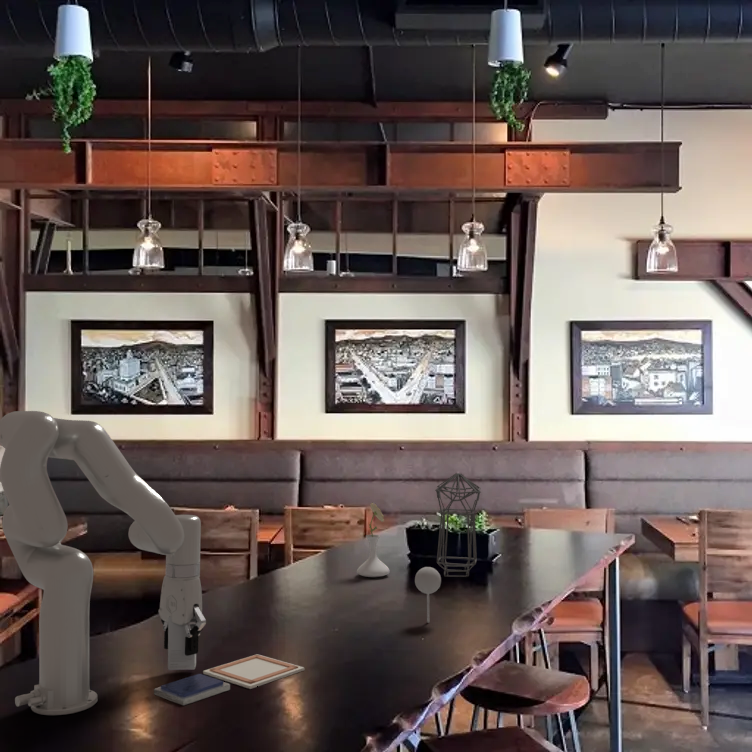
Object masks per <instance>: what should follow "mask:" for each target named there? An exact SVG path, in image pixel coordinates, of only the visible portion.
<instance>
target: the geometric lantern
mask: <svg viewBox="0 0 752 752" xmlns="http://www.w3.org/2000/svg"><path fill="white" fill-rule="evenodd" d="M453 480H454V481H453ZM452 481H453V483H452V486H451V487H450V486H447V485H448V484H449V483H450V482H452ZM463 481H464V482H465V483H466V484H467V486H469V487H466V486H465V485H464V482H463ZM460 482H461V485H462V488H461V485H460ZM455 485H456V487H455ZM449 489H450V490H449ZM453 490H455V491H453ZM466 490H470V491H466ZM461 491H462V492H461ZM435 492H436V498H437V501H438V507H439V511H440V521H439V533H438V542H437V543H438V545H437V554H436V563H437V564H438V566H439V567H441V569H443V576H444V577H445V578H446V577H447V578H449V577H450V578H451V577H453V578H458V577H459V578H468V577H469V576H470V570H471V569H472V568H474V566H475V565H476V564H477V559H478V557H477V554H478V553H477V537H476V514H475V513H476V512H475V511H476V508H477V505H478V502H479V499H480V493H482V492H481V487H480V486H478V485H477V484H476V483H474V482H473V481H471V480H470V479H469V478H467V477H466V476H464V474H462V473H457V472H456V473H454V474H453V475H451V476H450V477H448V478H447V479H445V480H444V481H443V482H442V483H440V484H438V485H437V487H436V489H435ZM445 492H447V493H449V495H450V496H449V495H448V494H446V493H445ZM441 493H442V494H443V495H444V496H445V497H446V498H447V499H449V500H450V501H449V503H448V505H447V506H446V507H445V506H444V503H443V501H442V500H443V499H442V496H441V495H442V494H441ZM462 494H463V495H462ZM474 494H476V495H477V496H476V499H474V503H473V506H472V508H471V506H470V505H469V502H467V498H469V497H471V496H472V495H474ZM456 498H457V499H456ZM463 500H464V501H465V502H466V504H467V506H468V508H469V509H467V507H466V506H465V504H464V502H463ZM454 502H460V503H461V506H463V509H462V508H460V509H459V508H458V509H457V508H450V507H451V506H452V504H453V503H454ZM442 507H443V508H442ZM450 511H464V512H465V513H462V512H461V513H459V512H450ZM468 511H469V512H468ZM450 515H466V516H467V518H466V519H467V523H466V524H467V556H468V557H466V556H465V557H463V556H461V557H459V556H447V547H448V533H449V517H450ZM445 521H446V522H445ZM445 524H446V525H445ZM445 527H446V528H445ZM445 529H446V530H445ZM472 550H473V557H472ZM447 559H457V560H459V559H460V560H467V562H466V563H454V562H447ZM471 560H472V562H470V561H471ZM442 565H443V566H444V567H443V566H442ZM448 567H453V568H455V567H456V568H458V567H459V568H461V567H462V568H464V569H463V570H462V569H448ZM449 573H465V575H449Z"/></svg>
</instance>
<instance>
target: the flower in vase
mask: <svg viewBox="0 0 752 752" xmlns="http://www.w3.org/2000/svg"><path fill="white" fill-rule="evenodd" d="M369 506H370V509H371V511H372V513H373V515H372V518H371V521H370V523H368V525H369V528H370V532H371V533H370V534H366V535H365V537H366V539H367V541H368V545H369V556H368V558H367V559H366V560H365V561H364V562H363V563H362V564H361V565H360V566H359V567H358V568H356V569H357V570H356V573H357V574H358V575H360V576H362V577H366V578H367V577H368V578H379V577H384V576H386V575H388V574H389V573H390V568H389V567H388V566H387V565H386V564H385V563H384V562H383V561H381V560H380V559H379V557H378V555H377V545H378V541H379V539H380V537H381V535H380V534H373V532H374V531H375V530H377V529H378V527H377V526H376V525H375V526H374V527H373V529H372V523H373V521H374V520H373V519H374V517H376V518H377V520H379V521H380V522H381V523H383V522H385V519H384V518H385V515H383V512H382V510H381V508H379V507H378V505H377V504H376V503H374V502H371V503H370V504H369Z"/></svg>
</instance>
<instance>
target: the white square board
mask: <svg viewBox="0 0 752 752" xmlns="http://www.w3.org/2000/svg"><path fill="white" fill-rule="evenodd" d="M303 671H306V669H305V667H304V666H301V665H298V664H294V663H289V662H287V661H283V660H280V659H276V658H273V657H270V656H265V655H261V654H257V653H256V654H254V655H250V656H247V657H244V658H240V659H237V660H234V661H231V662H228V663H224V664H221V665H217V666H214V667H211V668H208V669H205V670H203V671H202V673H203V674H202V675H205V676H209V677H212V678H215V679H218V680H221V681H223V682H224V681H225V682H226V683H229V684H234V685H237V686H240V687H242V688H246V689H249V690H251V689H255V688H257V686H258V687H261V686H264V685H265V684H269V683H271V682H275V681H278V680H280V679H284V678H286V677H289V676H291V675H296V674H298V673H301V672H303Z"/></svg>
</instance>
